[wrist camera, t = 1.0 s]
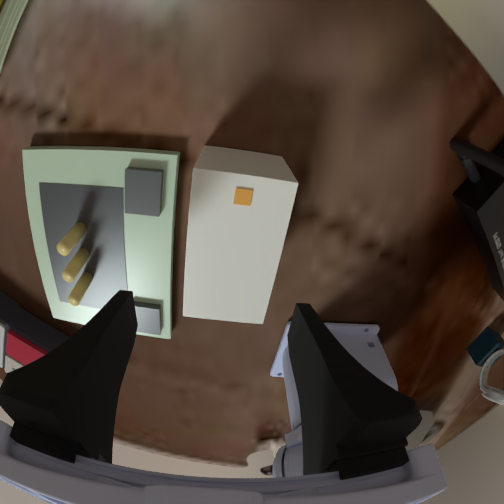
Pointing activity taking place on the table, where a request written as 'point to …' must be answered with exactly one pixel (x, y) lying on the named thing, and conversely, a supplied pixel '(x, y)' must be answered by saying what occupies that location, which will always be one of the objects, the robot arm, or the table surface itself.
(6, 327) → the calculator
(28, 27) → the table surface
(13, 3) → the hardcover book
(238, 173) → the block
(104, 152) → the pcb board
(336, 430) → the robot arm
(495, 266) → the grey and black stand
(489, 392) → the watch
